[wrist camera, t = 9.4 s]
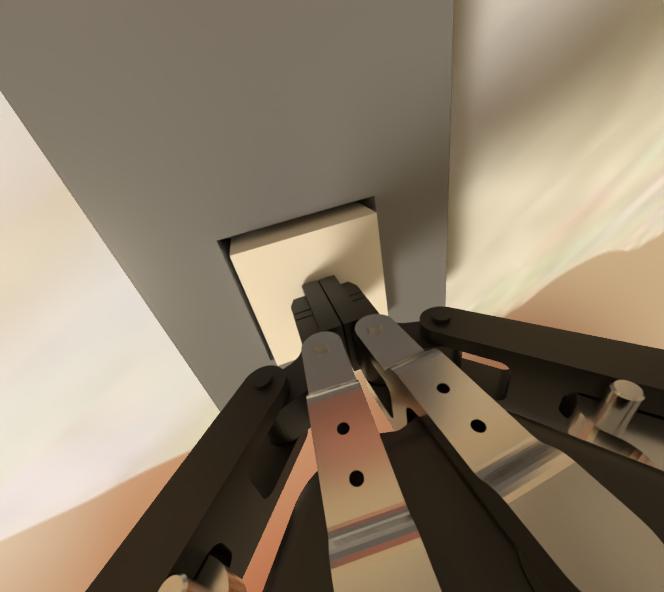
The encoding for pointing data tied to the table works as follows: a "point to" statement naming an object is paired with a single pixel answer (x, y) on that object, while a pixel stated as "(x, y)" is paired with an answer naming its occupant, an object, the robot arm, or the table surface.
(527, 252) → the table surface
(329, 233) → the off-white key
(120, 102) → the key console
